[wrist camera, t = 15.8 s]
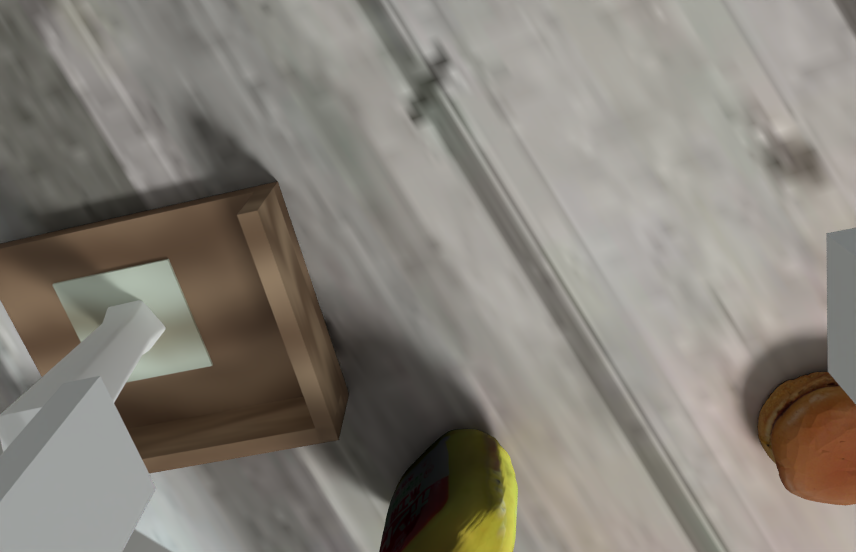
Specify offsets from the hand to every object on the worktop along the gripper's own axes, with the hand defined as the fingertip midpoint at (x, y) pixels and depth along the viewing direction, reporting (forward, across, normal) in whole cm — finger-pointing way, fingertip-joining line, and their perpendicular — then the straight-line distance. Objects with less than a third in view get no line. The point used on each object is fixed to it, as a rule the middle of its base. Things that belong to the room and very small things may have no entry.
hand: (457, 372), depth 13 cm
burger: (+32, +20, -29) cm, 48 cm away
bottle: (+32, -7, -28) cm, 43 cm away
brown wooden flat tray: (+32, -22, -12) cm, 40 cm away
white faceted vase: (+30, -24, -11) cm, 40 cm away
